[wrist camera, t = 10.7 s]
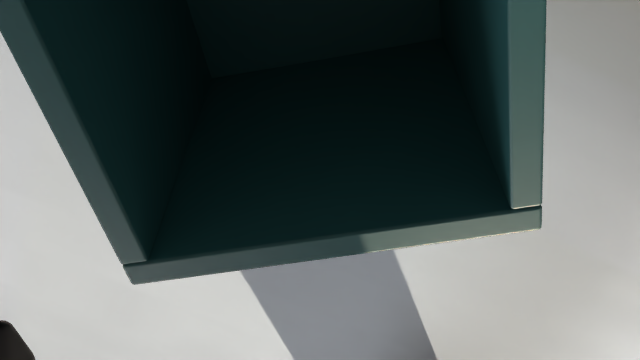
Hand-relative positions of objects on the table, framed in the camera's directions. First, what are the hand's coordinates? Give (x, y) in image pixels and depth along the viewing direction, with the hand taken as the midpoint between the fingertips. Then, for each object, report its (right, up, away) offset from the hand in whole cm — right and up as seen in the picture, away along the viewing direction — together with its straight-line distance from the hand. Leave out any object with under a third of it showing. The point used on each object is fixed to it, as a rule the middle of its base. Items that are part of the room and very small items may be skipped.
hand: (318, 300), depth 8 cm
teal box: (-1, +7, +3) cm, 7 cm away
